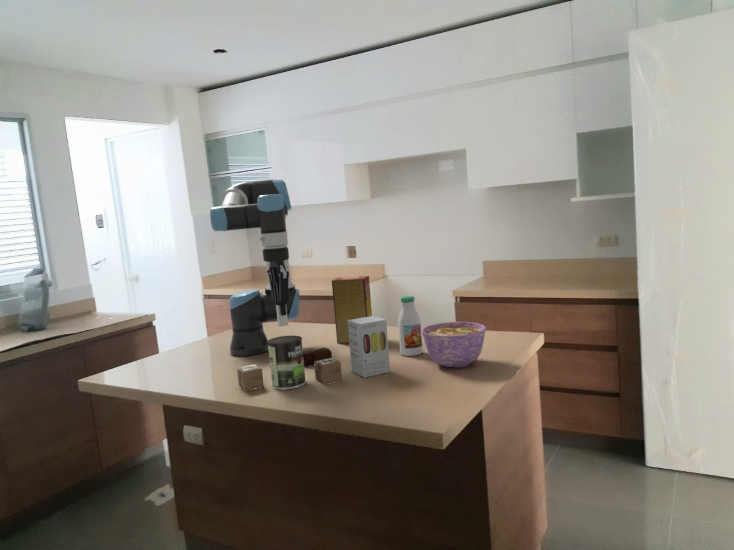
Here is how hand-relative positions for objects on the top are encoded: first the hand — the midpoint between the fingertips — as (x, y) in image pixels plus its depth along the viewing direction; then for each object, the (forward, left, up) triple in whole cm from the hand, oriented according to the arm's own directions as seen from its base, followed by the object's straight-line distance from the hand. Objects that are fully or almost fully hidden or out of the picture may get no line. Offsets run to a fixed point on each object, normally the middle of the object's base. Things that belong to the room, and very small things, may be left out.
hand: (283, 325), depth 167 cm
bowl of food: (+18, +49, -19) cm, 55 cm away
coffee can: (0, 0, -19) cm, 19 cm away
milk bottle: (-3, +46, -18) cm, 50 cm away
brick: (-17, +16, -19) cm, 30 cm away
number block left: (-6, -10, -18) cm, 22 cm away
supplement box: (+6, +25, -19) cm, 32 cm away
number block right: (+5, +11, -18) cm, 22 cm away
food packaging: (-36, +41, -19) cm, 58 cm away
